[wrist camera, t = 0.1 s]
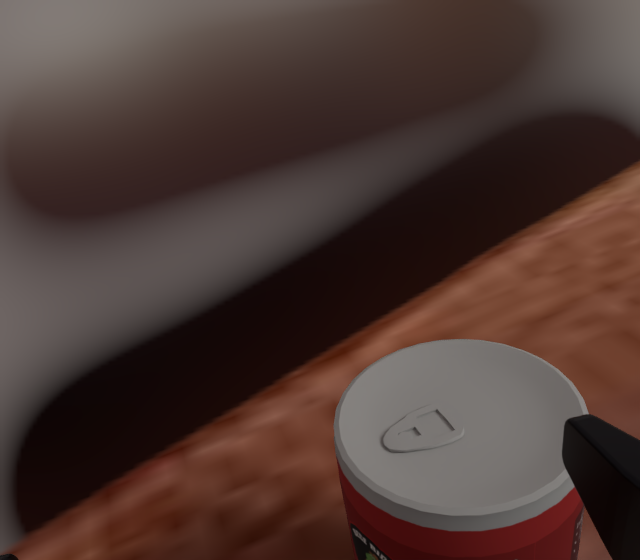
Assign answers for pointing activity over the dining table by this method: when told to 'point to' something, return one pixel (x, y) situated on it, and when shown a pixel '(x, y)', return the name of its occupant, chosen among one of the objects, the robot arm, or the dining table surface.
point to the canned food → (458, 455)
